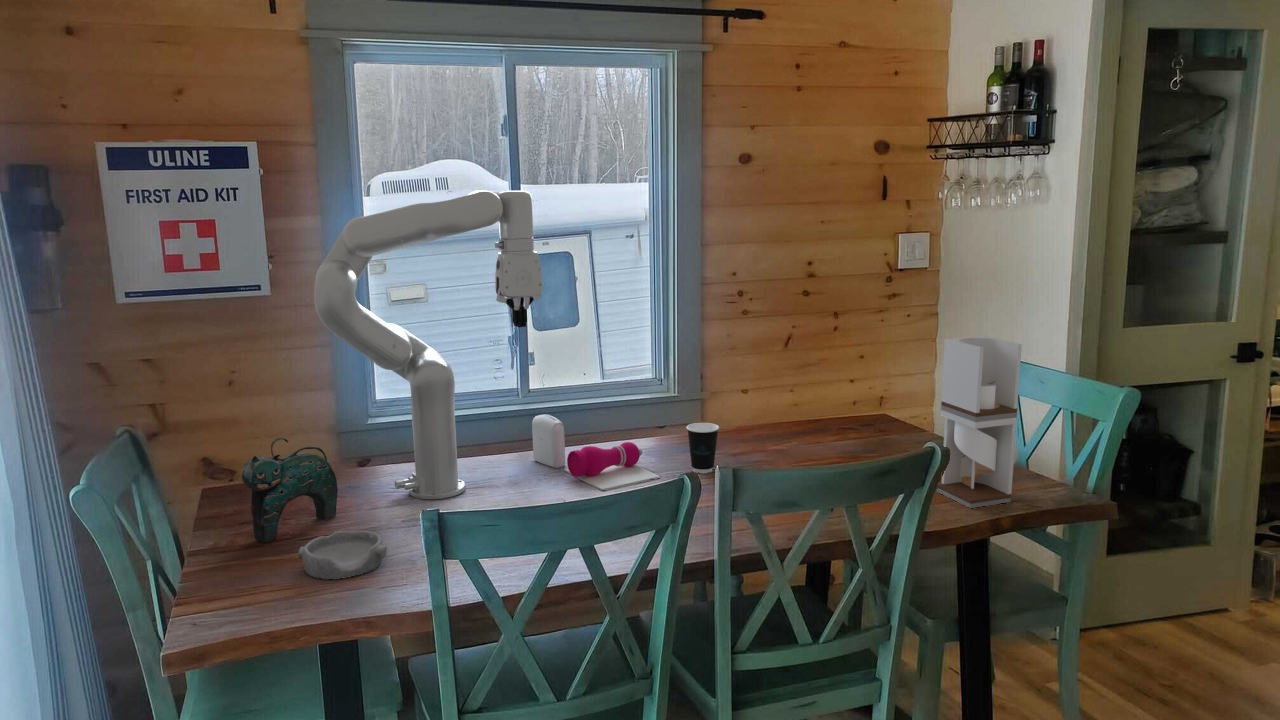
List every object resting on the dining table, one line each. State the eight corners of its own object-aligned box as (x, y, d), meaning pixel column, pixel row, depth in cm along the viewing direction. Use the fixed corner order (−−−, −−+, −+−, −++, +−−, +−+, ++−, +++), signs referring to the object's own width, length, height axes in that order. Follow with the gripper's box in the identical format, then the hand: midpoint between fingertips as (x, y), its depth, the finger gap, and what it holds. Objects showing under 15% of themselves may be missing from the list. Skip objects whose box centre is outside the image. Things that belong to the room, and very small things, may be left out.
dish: (397, 565, 172) (395, 540, 171) (329, 590, 162) (327, 563, 161) (355, 545, 181) (353, 521, 180) (288, 568, 171) (286, 543, 170)
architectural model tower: (936, 492, 207) (944, 339, 200) (975, 486, 211) (984, 335, 204) (970, 509, 197) (979, 347, 190) (1010, 502, 200) (1021, 344, 193)
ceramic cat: (260, 547, 181) (250, 449, 177) (241, 540, 184) (231, 444, 180) (344, 517, 197) (337, 426, 193) (325, 511, 200) (318, 422, 196)
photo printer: (530, 460, 235) (529, 413, 232) (545, 456, 237) (543, 410, 235) (553, 469, 227) (552, 421, 224) (567, 466, 229) (566, 418, 227)
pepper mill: (585, 463, 213) (653, 450, 225) (570, 442, 218) (638, 431, 229) (576, 485, 217) (644, 472, 229) (562, 464, 222) (630, 452, 233)
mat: (602, 491, 211) (602, 489, 211) (564, 471, 225) (564, 469, 225) (659, 478, 219) (659, 476, 219) (619, 459, 234) (619, 457, 234)
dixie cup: (696, 477, 220) (696, 432, 218) (680, 468, 227) (680, 425, 224) (725, 472, 223) (725, 428, 221) (708, 463, 230) (708, 421, 228)
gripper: (493, 248, 201) (496, 331, 204) (554, 245, 209) (556, 325, 213) (479, 247, 207) (483, 327, 211) (538, 243, 215) (541, 321, 219)
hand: (519, 326), depth 212 cm, fingers closed
